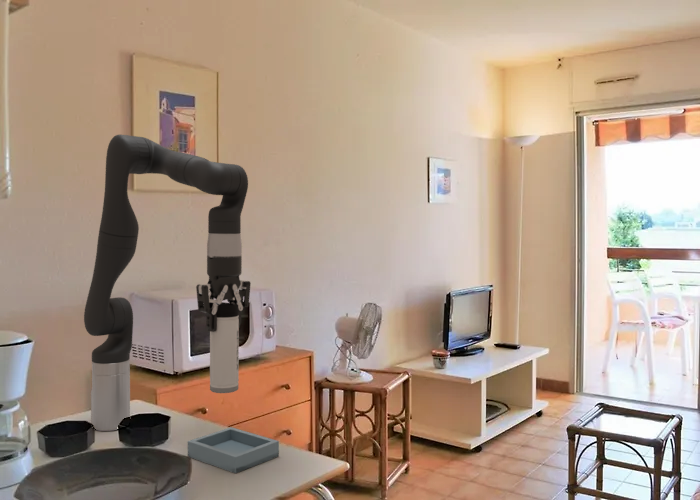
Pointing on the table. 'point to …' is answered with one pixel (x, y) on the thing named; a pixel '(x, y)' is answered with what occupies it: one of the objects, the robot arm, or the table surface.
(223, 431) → the slate tray
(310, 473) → the table surface
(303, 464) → the table surface
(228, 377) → the travel mug
